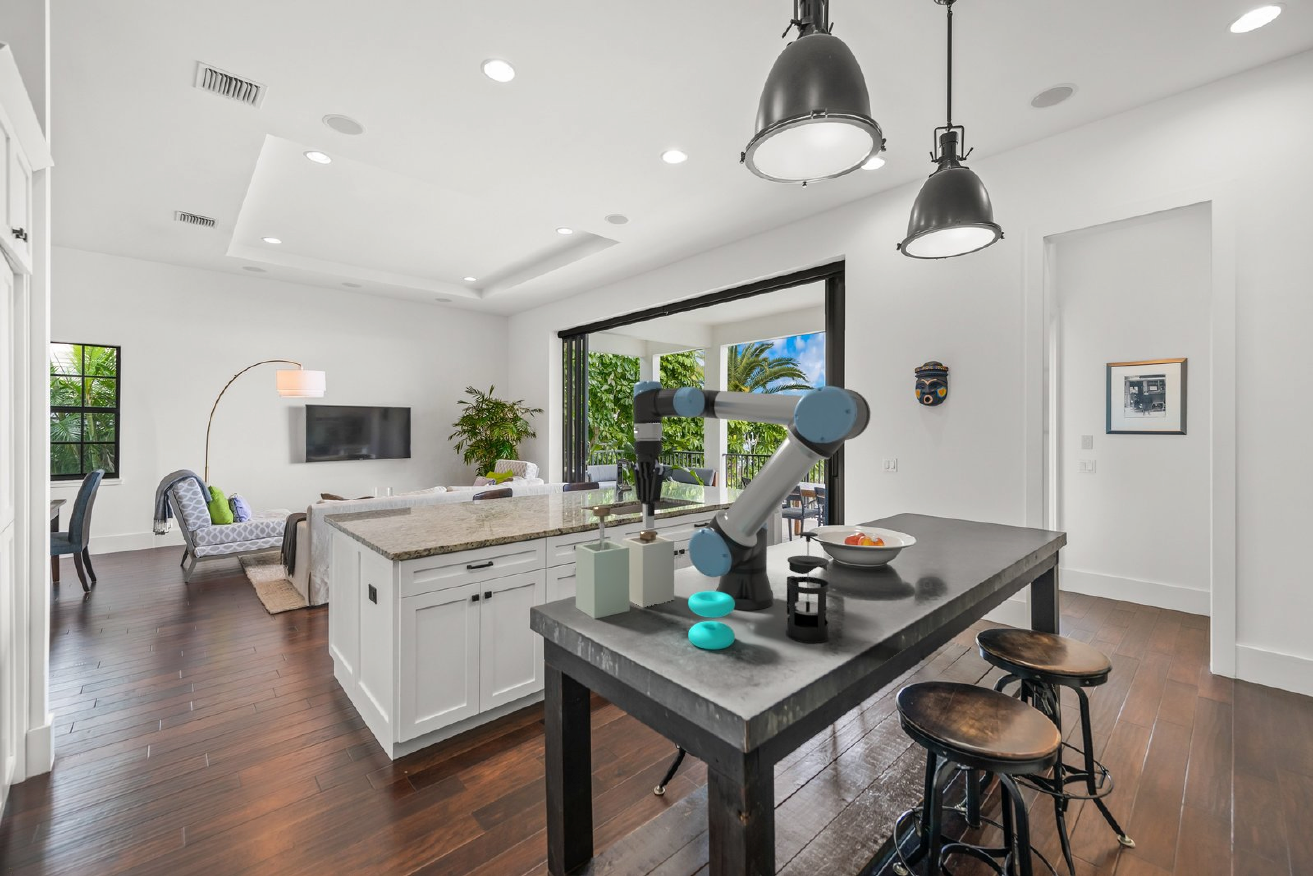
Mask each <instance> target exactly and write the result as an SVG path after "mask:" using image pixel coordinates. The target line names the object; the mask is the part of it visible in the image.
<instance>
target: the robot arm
mask: <svg viewBox="0 0 1313 876" xmlns="http://www.w3.org/2000/svg"><path fill="white" fill-rule="evenodd" d="M633 385H634V386H633V396H632V400H633V438H634V439H635V440H634V441H633V454H634V455H636V456H637V458H636V463H635V464H631V469H632V471H633V478H634V486H635V492H636V499H637V501H640V503H641V507H642V508H641V513H642V529H643V530H650V529H654V528H655V515H656V514H655V509H656V507H655V505H656V503H659V502H660V501H661V495H662V488H663V480H664V475H665V472H666V470H667V469H666V466H662V465H661V464H660V463H661V462H660V459H659V455H662V454H663V442H662V440H661V439H662V438H663V418H707V419H708V418H709V419H719V420H731V421H741V422H749V423H750V422H751V423H761V424H771V425H781V426H782V425H783V426H786V429H787V430H786V431H787V436H786V438H784V440H782V442H781V444H779V446H778V447H777V448H776V450H774V452H773V453H772V455H771V456H770V457H769V458H768V459H767V461H766V462H765V463H764V464H763V465H762V466H761V468H760V469H759V471H758V472H757V474H756V475H755V476H754V477H753V478H752V479H751V481H750V482H749V483H748V484H747V486H746V487H745V488H744V489H743V491H742V492H741V493H740V494H739V496H737V498H736V499H735V501H734V502H733V503H732V504H731V505H730V506H729V508H728V509H721V510H719V511H718V512H717V513H716V514H715V515H714V517H712V519H711V520H710V521H709V523H708V524H707V525H706V526H704V528H703V527H701V528H699V529H698V530H696V531H695V532H694V533H693V534H692V535H691V537H690V539H689V541H688V552H689V555H688V556H689V558H690V561H691V563H692V565H693V566H694V567H695V569H696V570H697V571H698V572H699V573H700V574H702V575H704V576H706V577H711V578H717V577H719V578H720V579H719V581H718V586H717V588H716V590H715V591H716V592H722V593H726V594H728V595H730V596H731V597H732V598H733V599H734V602H735V607H734V609H733V610H742V611H743V610H745V611H752V610H762V609H765V608H768V607H771V606H773V604H774V592H773V590H772V587H771V583H770V579H769V576H768V573H767V568H768V567H767V565H768V564H767V563H768V561H767V560H768V559H767V558H768V555H767V554H768V553H767V551H768V550H767V549H768V537H767V536H768V531H769V530H768V526H767V521H768V520H769V519H770V518H771V517H772V516H773V515H774V513H775V512H776V511H777V510H778V509H779V507H780V506H781V505H782V504H783V503H784V501H785V500H786V499H787V498H788V497H790V495H791V493H792V492H793V491H794V490H795V489H796V487H797V486H798V485H799V484H800V483H801V481H803V479H804V478H805V477H806V476H807V475H808V473H809V472H811V470H812V469H813V468H814V467H815V465H816V464H817V463H818V462H819V461H820V460H829V459H831V457H833V455H834V454H835V453H836V452H837V451H838V450H839V448H840V447H841V446H842V445H843V444H844V443H845V441H847V440H852V439H855V438H857V437H859V436H860V435H861V434H862V433H864V432H865V430H867V428H868V426H869V424H870V421H871V413H872V412H871V407H870V405H869V403H868V401H867V399H866V398H865V397H864V396H863V395H862V394H860V393H859V392H858V391H855V390H853V389H849V388H842V387H838V386H834V385H824V386H820V387H816V388H812V389H811V390H808V391H807V392H806V393H804V394H803V395H796V394H795V395H794V394H780V393H779V394H778V393H763V392H762V393H761V392H746V391H745V392H744V391H728V390H713V389H700V388H699V387H696V386H683V387H681V386H680V387H670V388H663V386H662V385H663V384H662V383H661V382H660V381H655V380H654V381H653V380H647V381H643V380H642V381H638V382H636V383H634V384H633Z"/></svg>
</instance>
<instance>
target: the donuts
mask: <svg viewBox="0 0 1313 876" xmlns="http://www.w3.org/2000/svg"><path fill="white" fill-rule="evenodd" d="M687 604H688V608H689V609H690V610H691V612H693V613H694V614H696V615H698V616H700V617H706V618H721V617H725V616H727V615H729V614H731V612H733V610H735V609H734V607H735V602H734V599H733V598H732V597H731V596H730V595H728V594H726V593H722V592H716V590H714V591H713V590H708V591H707V590H705V591H704V590H703V591H699V592H695V593H694V594H692V595H691V596H690V597H689V598H688V603H687ZM687 636H688V637H687V638H688V640H689V642H690V644H691V643H692V645H694V646H696V647H698V648H701V649H704V650H722V649H725V648H728V647H730V646H731V645H733V643H734V641H735V640H736V638H735V637H736V636H735V632H734V629H732V628H731V627H730V626H729V625H728V624H725V623H723V622H721V621H716V620H707V621H701V622H697V623H695V624H694V625H692V626H691V628H690V629H689V631H688V635H687Z"/></svg>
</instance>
